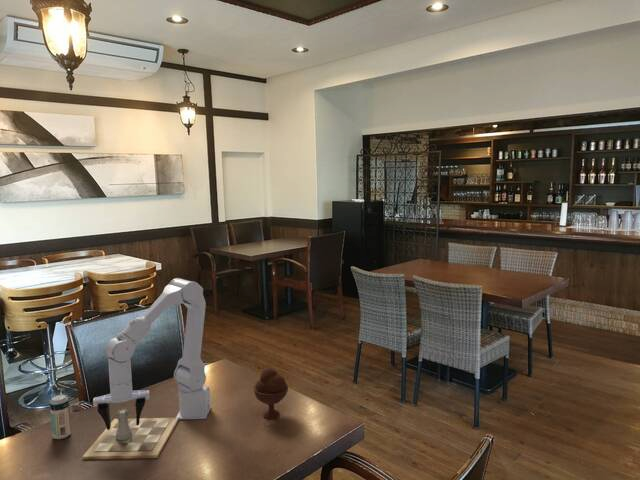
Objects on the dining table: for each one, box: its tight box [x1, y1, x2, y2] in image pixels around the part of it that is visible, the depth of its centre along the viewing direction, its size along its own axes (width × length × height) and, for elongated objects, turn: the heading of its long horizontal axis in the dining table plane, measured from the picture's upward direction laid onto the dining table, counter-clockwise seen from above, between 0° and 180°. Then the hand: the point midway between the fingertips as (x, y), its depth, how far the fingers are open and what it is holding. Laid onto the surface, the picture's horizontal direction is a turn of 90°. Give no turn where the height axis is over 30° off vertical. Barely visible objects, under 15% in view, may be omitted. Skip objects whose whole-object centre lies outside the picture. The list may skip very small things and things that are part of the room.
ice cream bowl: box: [253, 367, 289, 420], centre depth 144 cm, size 11×11×15 cm
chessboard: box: [82, 417, 180, 460], centre depth 132 cm, size 20×20×1 cm
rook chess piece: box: [116, 408, 132, 440], centre depth 131 cm, size 4×4×8 cm
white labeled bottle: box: [49, 393, 72, 440], centre depth 133 cm, size 5×5×12 cm
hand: (123, 425), depth 130 cm, fingers open, 7 cm apart
